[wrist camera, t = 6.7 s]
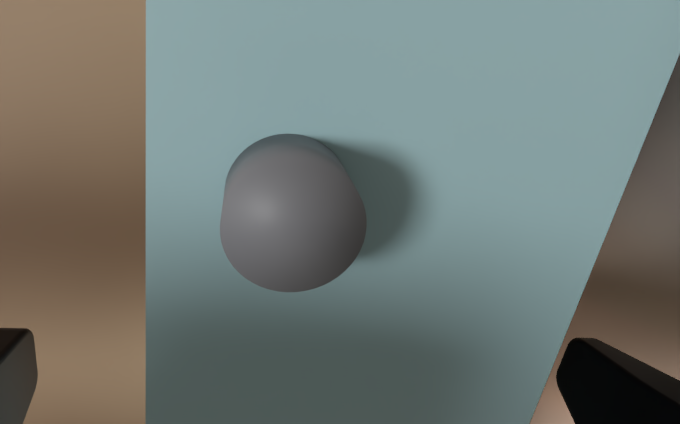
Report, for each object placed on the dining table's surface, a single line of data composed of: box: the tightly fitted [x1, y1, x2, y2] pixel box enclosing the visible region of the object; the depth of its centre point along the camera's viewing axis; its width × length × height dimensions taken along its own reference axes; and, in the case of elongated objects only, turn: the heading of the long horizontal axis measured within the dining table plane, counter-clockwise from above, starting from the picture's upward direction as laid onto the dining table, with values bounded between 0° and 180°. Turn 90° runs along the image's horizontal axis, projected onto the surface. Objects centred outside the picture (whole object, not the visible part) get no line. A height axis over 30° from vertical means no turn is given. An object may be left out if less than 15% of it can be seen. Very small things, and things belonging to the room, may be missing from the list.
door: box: [146, 0, 680, 424], centre depth 8 cm, size 12×5×5 cm, turn 171°
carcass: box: [0, 0, 560, 424], centre depth 9 cm, size 18×13×4 cm
